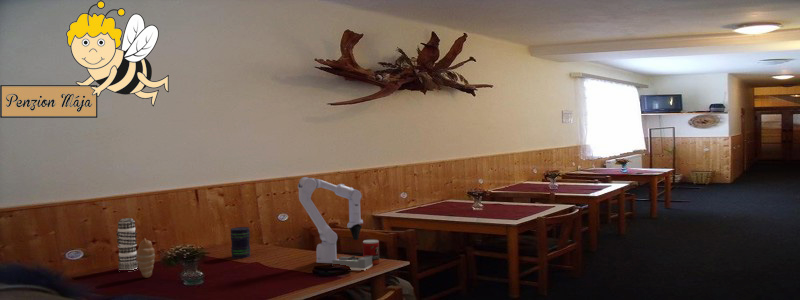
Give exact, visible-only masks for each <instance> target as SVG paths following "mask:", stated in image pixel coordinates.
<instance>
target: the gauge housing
mask: <svg viewBox="0 0 800 300" xmlns="http://www.w3.org/2000/svg"><path fill="white" fill-rule="evenodd" d="M349 257H350V256H339V257H338V259H339V260H332V262H333V263H332V265H333V264H340V265H346V266H349V267H350V269H351V270H350V271H361V270H364V271H366V269H367V270H368V269H370V268H372V267H373V266H374V265H373V264H372V256H367V255H366V256H364V257H363V256H362V257H357V256H355V258H358V259H359V261H357V260H348V258H349Z"/></svg>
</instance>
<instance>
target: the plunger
mask: <svg viewBox="0 0 800 300" xmlns="http://www.w3.org/2000/svg"><path fill="white" fill-rule="evenodd" d="M348 257H349V258H348V260H357V261H359V259H358V258H355V257H356V255H351V256H348Z"/></svg>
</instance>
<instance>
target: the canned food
mask: <svg viewBox="0 0 800 300" xmlns="http://www.w3.org/2000/svg"><path fill="white" fill-rule="evenodd" d="M366 255H367V256H372V264H373V266H377V265H379V264H380V241H379V240H378V239H364V240H363V241H362V257H364V256H366Z"/></svg>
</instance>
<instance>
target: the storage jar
mask: <svg viewBox="0 0 800 300" xmlns="http://www.w3.org/2000/svg"><path fill="white" fill-rule="evenodd" d="M250 239H251V232H250V227H248V226H241V227H239V226H238V227H232V228H230V240H231V241H230V242H231V247H230V249H231V251H230V253H231V258H232V259H236V258H237V259H246V258H250V257H251V244H250Z"/></svg>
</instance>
